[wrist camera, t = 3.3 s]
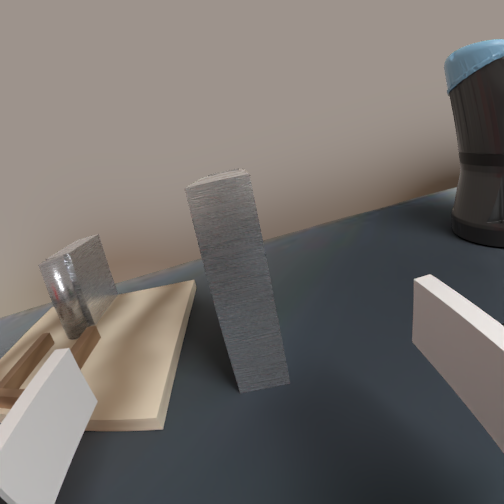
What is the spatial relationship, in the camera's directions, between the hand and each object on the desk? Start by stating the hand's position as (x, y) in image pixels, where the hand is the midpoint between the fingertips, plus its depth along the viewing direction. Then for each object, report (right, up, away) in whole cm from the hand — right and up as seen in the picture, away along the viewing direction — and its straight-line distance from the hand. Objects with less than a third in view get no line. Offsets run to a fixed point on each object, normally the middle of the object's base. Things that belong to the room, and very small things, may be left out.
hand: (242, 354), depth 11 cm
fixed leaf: (-17, -3, +20) cm, 26 cm away
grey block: (+1, -3, +12) cm, 13 cm away
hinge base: (-15, -6, +15) cm, 22 cm away
